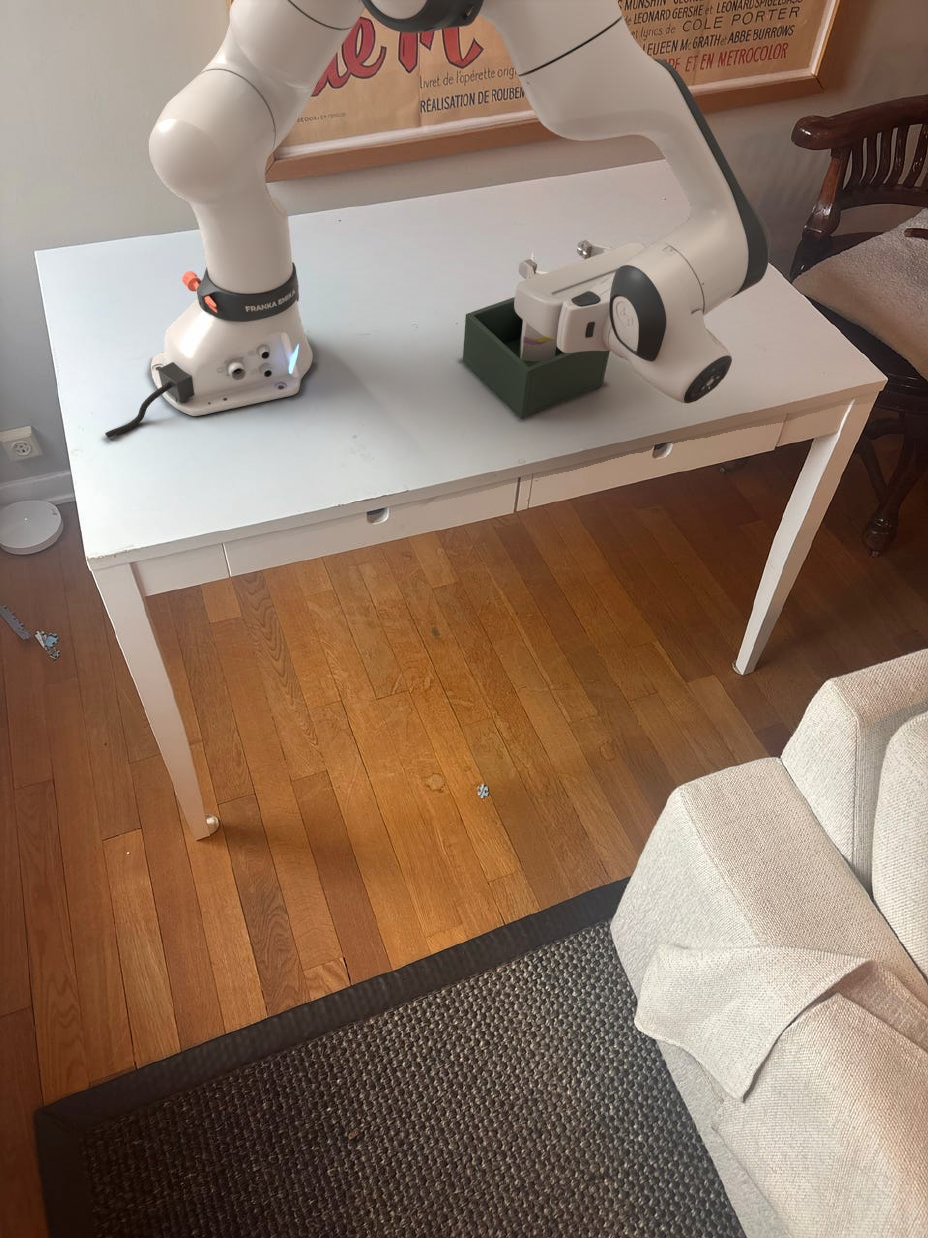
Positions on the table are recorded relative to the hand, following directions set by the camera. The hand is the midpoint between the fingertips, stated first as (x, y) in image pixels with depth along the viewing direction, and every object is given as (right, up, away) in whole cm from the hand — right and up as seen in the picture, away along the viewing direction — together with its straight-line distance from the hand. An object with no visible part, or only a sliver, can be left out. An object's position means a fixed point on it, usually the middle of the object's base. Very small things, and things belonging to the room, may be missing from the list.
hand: (553, 254), depth 124 cm
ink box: (-1, -9, +16) cm, 18 cm away
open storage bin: (-2, -11, +15) cm, 19 cm away
